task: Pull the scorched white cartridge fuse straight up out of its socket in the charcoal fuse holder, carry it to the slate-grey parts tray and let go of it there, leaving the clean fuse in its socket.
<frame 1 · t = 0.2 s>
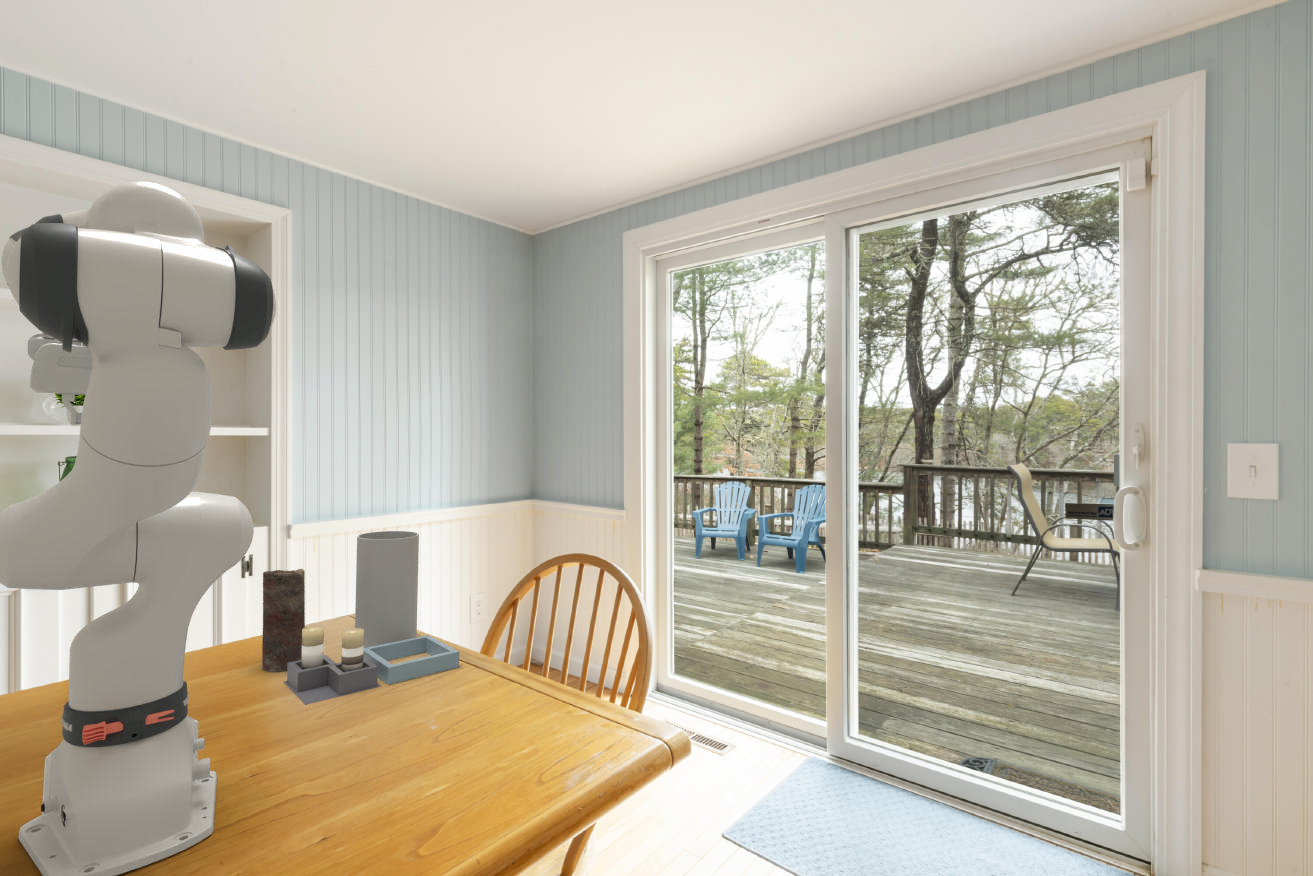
hand: (117, 425, 102), 48 cm above the table, tool pointing down, fingers open, 8 cm apart
cylinder vase: (385, 650, 140), on the table
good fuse: (312, 682, 118), point 1 cm above the table, touching fuse holder
blown fuse: (351, 685, 117), point 1 cm above the table, touching fuse holder
candle: (283, 671, 126), on the table
parts tray: (409, 670, 128), on the table
fuse holder: (331, 689, 118), on the table
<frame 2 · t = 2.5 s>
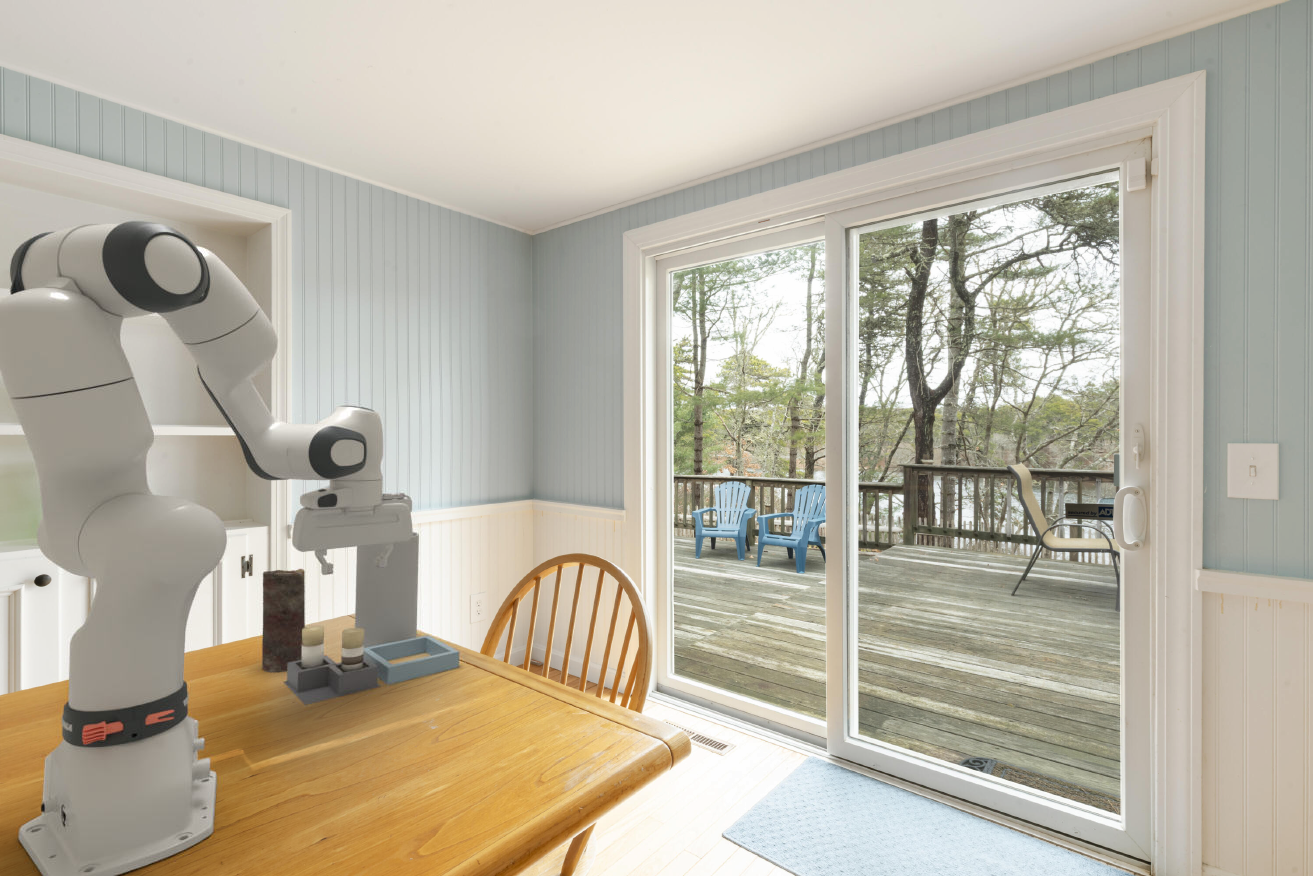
hand: (354, 570, 117), 22 cm above the table, tool pointing down, fingers open, 8 cm apart
nothing on the table moved.
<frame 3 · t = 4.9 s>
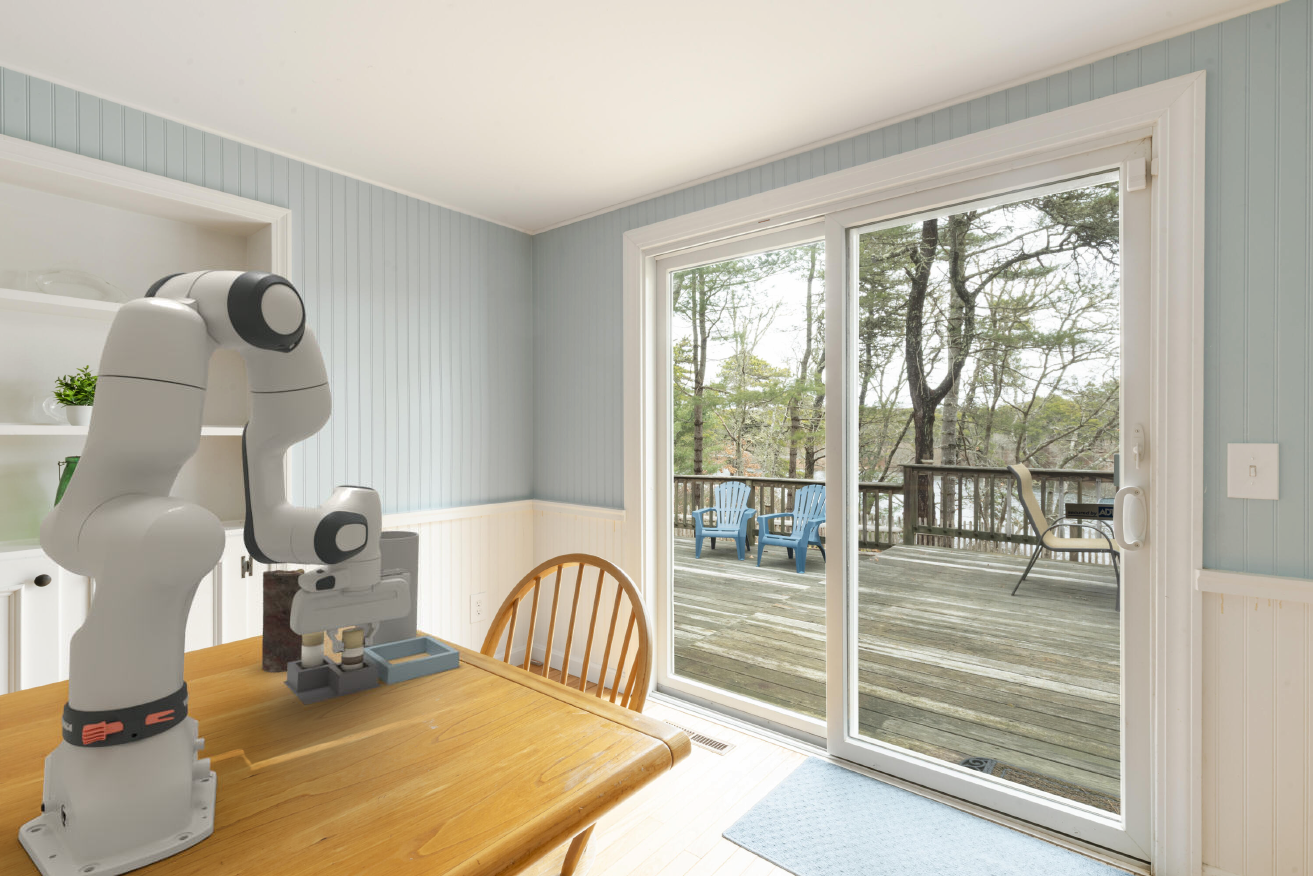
hand: (352, 649, 117), 8 cm above the table, tool pointing down, fingers closed on blown fuse, 4 cm apart
blown fuse: (351, 685, 117), point 1 cm above the table, touching fuse holder, gripper
everything else where it was.
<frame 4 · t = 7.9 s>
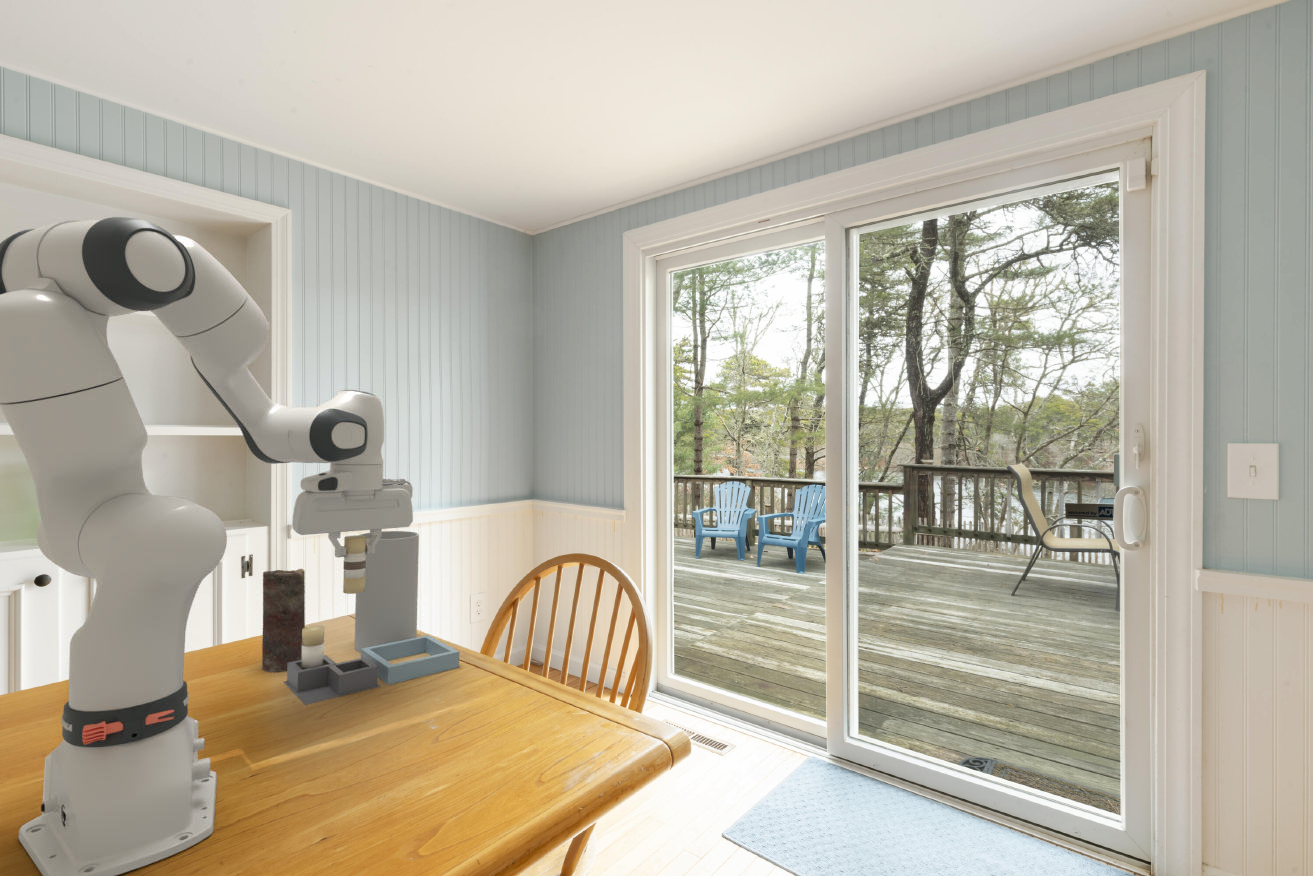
hand: (354, 555, 117), 25 cm above the table, tool pointing down, fingers closed on blown fuse, 4 cm apart
blown fuse: (354, 591, 117), point 18 cm above the table, touching gripper
everything else where it was.
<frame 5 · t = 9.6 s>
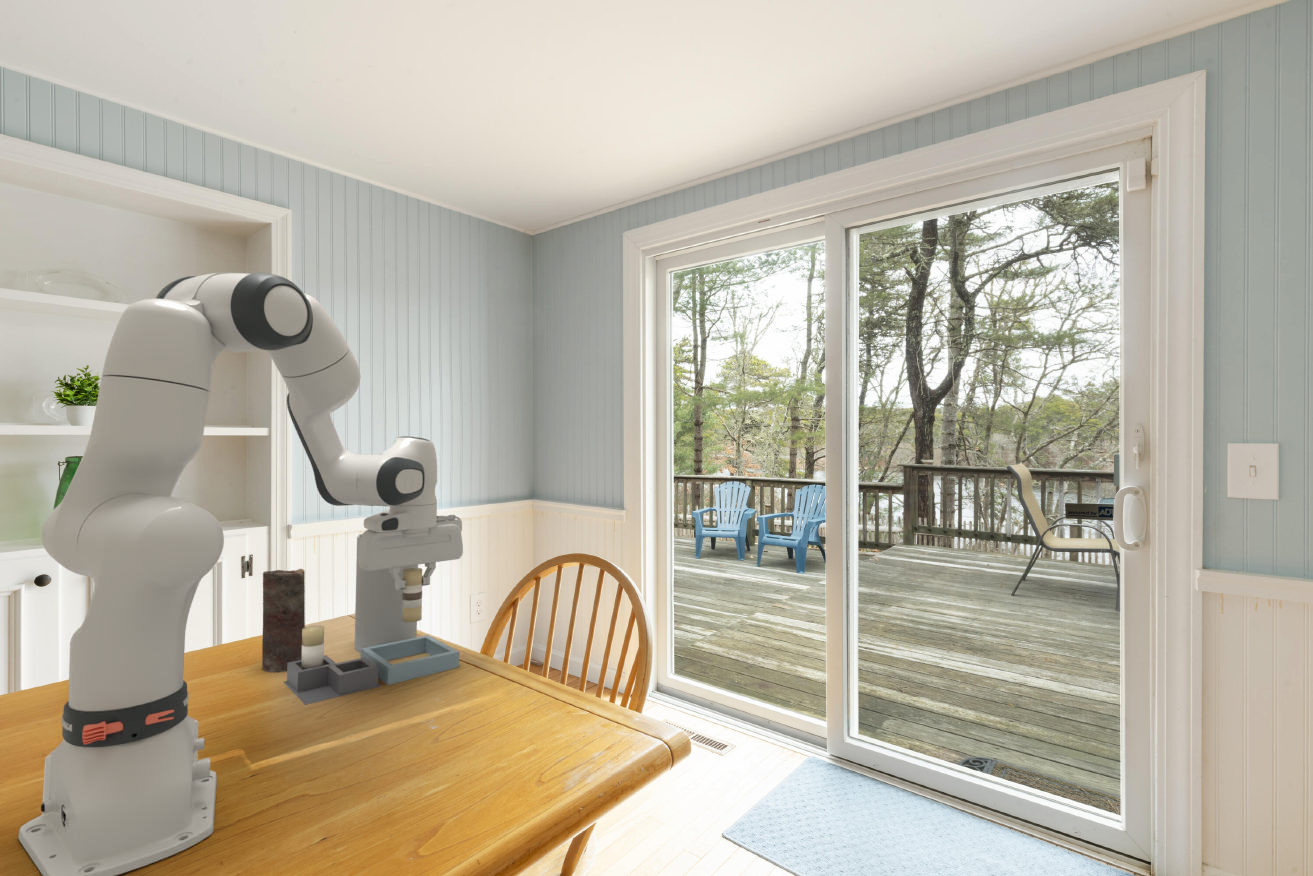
hand: (412, 587, 128), 17 cm above the table, tool pointing down, fingers closed on blown fuse, 4 cm apart
blown fuse: (412, 619, 128), point 10 cm above the table, touching gripper
everything else where it was.
when the fingers open (9 cm above the table, at t = 11.0 s): blown fuse drops 2 cm, resting on parts tray.
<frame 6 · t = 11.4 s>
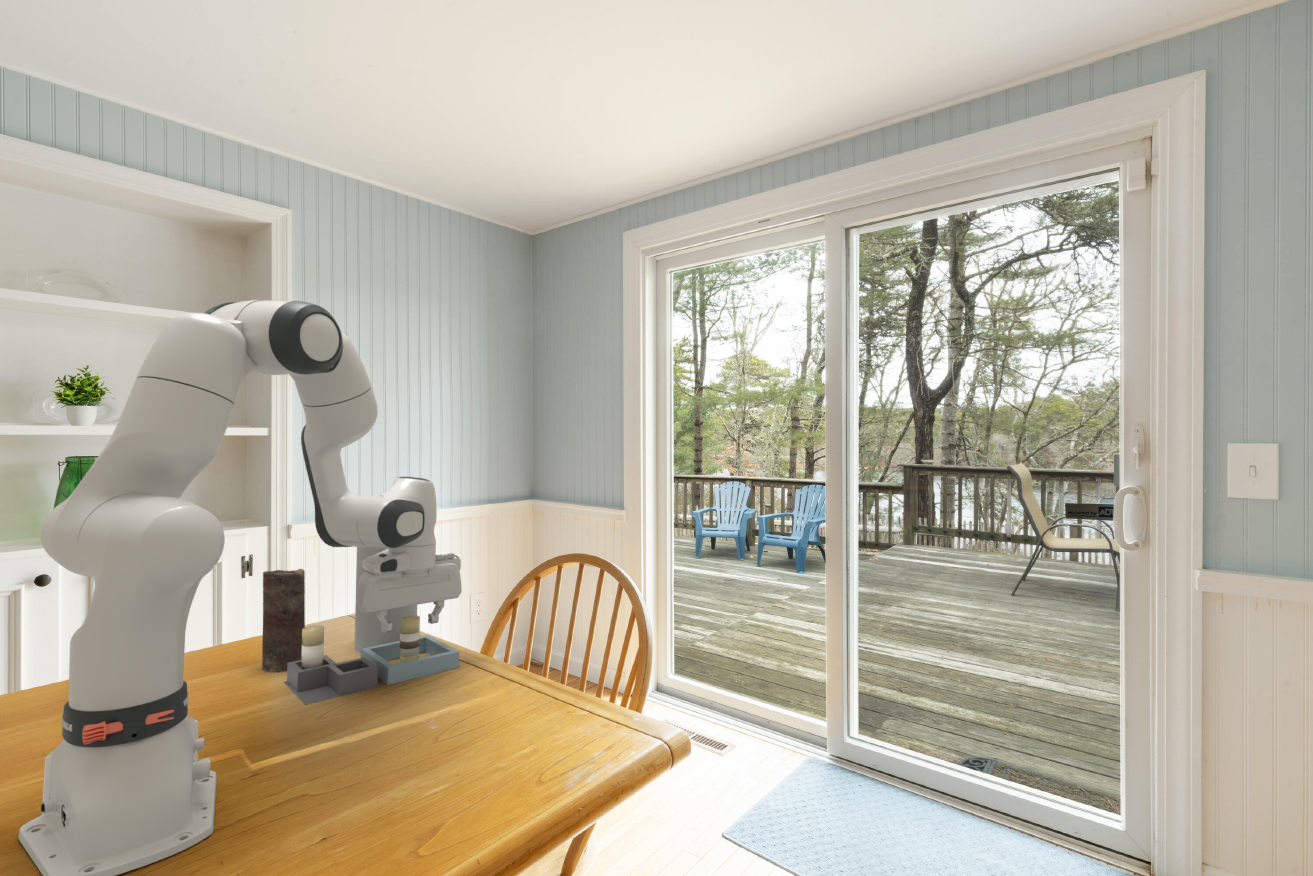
hand: (410, 627, 128), 9 cm above the table, tool pointing down, fingers open, 8 cm apart
blown fuse: (409, 667, 128), point 1 cm above the table, touching parts tray
everything else where it was.
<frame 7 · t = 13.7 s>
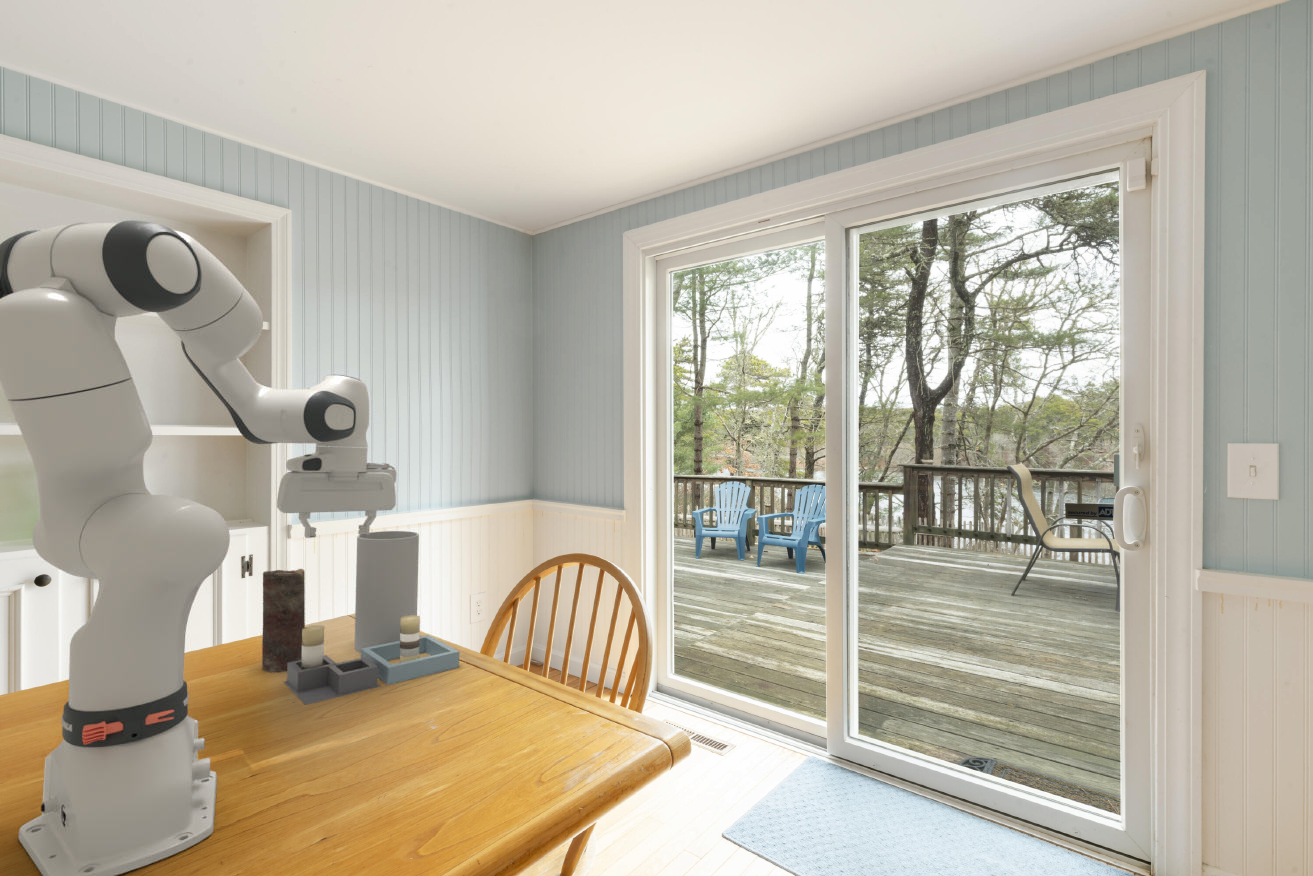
hand: (337, 535, 120), 28 cm above the table, tool pointing down, fingers open, 8 cm apart
nothing on the table moved.
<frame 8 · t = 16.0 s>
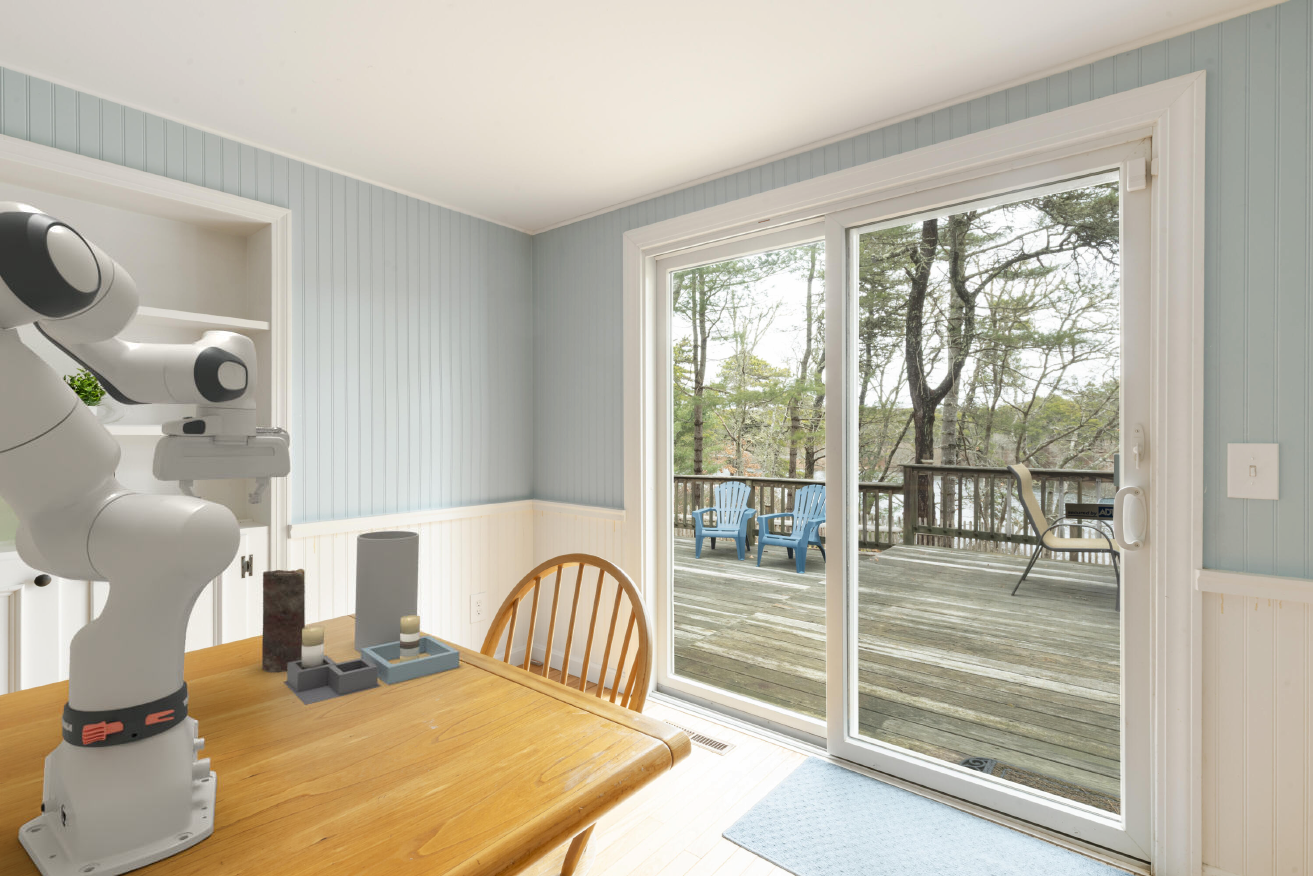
hand: (225, 505, 112), 34 cm above the table, tool pointing down, fingers open, 8 cm apart
nothing on the table moved.
at the end: blown fuse inside the target area on the parts tray (0.1 cm from its centre), point 0.6 cm above the parts tray's base; the gripper is holding nothing; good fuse moved 0.0 cm from its start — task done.
